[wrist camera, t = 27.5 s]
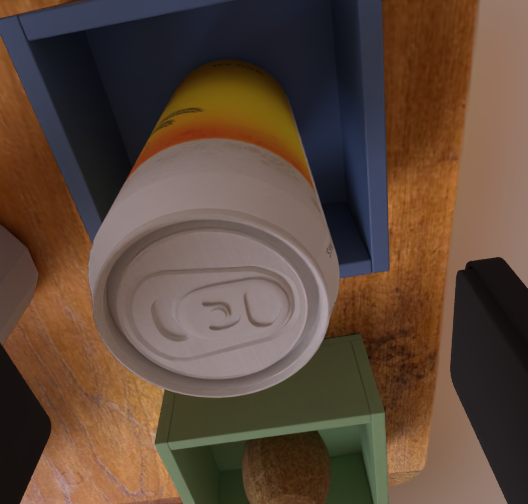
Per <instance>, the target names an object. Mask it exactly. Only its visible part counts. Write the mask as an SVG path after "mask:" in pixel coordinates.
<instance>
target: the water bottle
mask: <svg viewBox="0 0 528 504" xmlns="http://www.w3.org/2000/svg"><path fill="white" fill-rule="evenodd" d="M38 276H39V274H38V271H37V269H36V267H35V265H34V262H33V260H32V258H31V255H30V253H29V251H28V249H27V247H26V246H24V245H23V244H22V243H21V242H20V241H19V240H18V239H17V238H16V237H15V236H13V235H12V234H11V233H10V232H9V231H8V230H7V229H6V228H5V227H3V226H2V225H0V343H1V345H2V346H3V344H4V343H5V341H6V340H7V338H8V336H9V335H10V333H11V332H12V330H13V329H14V327H15V325H16V324H17V322H18V321H19V319H20V318H21V316H22V314H23V313H24V311H25V310H26V308H27V307H28V305H29V303H30V302H31V300H32V299H33V297H34V293H35V289H36V285H37V280H38Z"/></svg>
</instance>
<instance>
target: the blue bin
mask: <svg viewBox="0 0 528 504" xmlns="http://www.w3.org/2000/svg"><path fill="white" fill-rule="evenodd" d="M0 35H1V37H2V39H3V42H4V44H5V46H6V48H7V51H8V53H9V55H10V58H11V60H12V62H13V64H14V67H15V69H16V71H17V73H18V76H19V78H20V80H21V83H22V85H23V87H24V89H25V92H26V94H27V96H28V99H29V101H30V103H31V105H32V108H33V110H34V112H35V114H36V117H37V119H38V121H39V124H40V126H41V128H42V130H43V133H44V135H45V137H46V139H47V142H48V144H49V146H50V149H51V151H52V153H53V155H54V158H55V160H56V162H57V164H58V167H59V169H60V171H61V174H62V176H63V178H64V180H65V183H66V185H67V187H68V189H69V192H70V194H71V196H72V199H73V201H74V203H75V205H76V208H77V210H78V212H79V214H80V217H81V219H82V221H83V224H84V226H85V228H86V230H87V233H88V235H89V237H90V239H91V242H92V244H93V241H94V239H95V236H96V234H97V232H98V230H99V229H100V227H101V225H102V223H103V221H104V219H105V218H106V216H107V214H108V212H109V210H110V208H111V207H112V205H113V203H114V201H115V199H116V198H117V196H118V194H119V192H120V190H121V188H122V187H123V185H124V183H125V181H126V179H127V177H128V176H129V174H130V172H131V170H132V168H133V166H134V165H135V163H136V161H137V159H138V157H139V156H140V154H141V152H142V150H143V148H144V146H145V145H146V143H147V141H148V139H149V137H150V135H151V134H152V132H153V130H154V128H155V126H156V124H157V123H158V121H159V119H160V117H161V115H162V114H163V112H164V110H165V108H166V106H167V104H168V103H169V101H170V99H171V97H172V95H173V93H174V92H175V90H176V88H177V87H178V85H179V84H180V82H181V81H182V80H183V79H184V78H185V77H186V76H187V75H188V74H189V73H190V72H192V71H193V70H195V69H196V68H198V67H200V66H202V65H204V64H206V63H209V62H212V61H217V60H227V59H230V60H240V61H245V62H248V63H251V64H253V65H256V66H258V67H260V68H261V69H263V70H265V71H266V72H267V73H269V74H270V75H271V76H272V77H273V78H274V79H275V80H276V81H277V82H278V83H279V84H280V86H281V87H282V88H283V90H284V92H285V93H286V95H287V97H288V99H289V102H290V105H291V108H292V111H293V115H294V118H295V121H296V124H297V128H298V131H299V134H300V137H301V141H302V144H303V147H304V150H305V154H306V157H307V160H308V163H309V167H310V170H311V173H312V176H313V180H314V183H315V186H316V189H317V193H318V196H319V199H320V202H321V206H322V209H323V212H324V215H325V219H326V222H327V225H328V228H329V232H330V235H331V238H332V241H333V245H334V248H335V251H336V254H337V258H338V264H339V275H340V278H345V277H351V276H358V275H364V274H370V273H371V272H373V273H377V272H384V271H389V269H390V267H389V232H388V196H387V160H386V125H385V89H384V53H383V18H382V0H78V1H74V2H69V3H64V4H59V5H55V6H51V7H47V8H42V9H38V10H34V11H30V12H25V13H21V14H17V15H12V16H8V17H4V18H0Z"/></svg>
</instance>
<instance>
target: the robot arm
mask: <svg viewBox="0 0 528 504" xmlns="http://www.w3.org/2000/svg"><path fill="white" fill-rule="evenodd" d="M450 372H451V378H452V382H453V385H454V388H455V390H456V392H457V394H458V396H459V399H460V401H461V403H462V405H463V407H464V409H465V412H466V414H467V416H468V418H469V420H470V422H471V425H472V427H473V429H474V431H475V433H476V436H477V438H478V440H479V442H480V444H481V447H482V449H483V451H484V453H485V455H486V458H487V460H488V462H489V464H490V466H491V468H492V471H493V473H494V475H495V477H496V479H497V481H498V484H499V486H500V488H501V490H502V492H503V494H504V497H505V499H506V501H507V503H508V504H528V288H527V287H526V286H525V285H524V283H523V282H522V281H521V280H520V279H519V277H518V276H517V275H516V274H515V272H514V271H513V270H512V269H511V268H510V266H509V265H508V264H507V263H506V261H505V260H503V259H502V258H500V257H496V258H490V259H483V260H475V261H470V262H468V263H467V264H466V268H465V270H459V271H458V272H457V276H456V288H455V303H454V319H453V333H452V349H451V364H450ZM50 433H51V422H50V419H49V417H48V415H47V414H46V412H45V411H44V409H43V408H42V406H41V404H40V403H39V401H38V400H37V398H36V397H35V395H34V394H33V392H32V391H31V389H30V388H29V386H28V385H27V383H26V381H25V380H24V378H23V377H22V375H21V374H20V372H19V371H18V369H17V368H16V366H15V365H14V363H13V362H12V360H11V358H10V357H9V355H8V354H7V352H6V351H5V349H4V348H3V346H2V345H1V343H0V504H20V502H21V500H22V497H23V495H24V493H25V491H26V488H27V486H28V484H29V482H30V479H31V477H32V475H33V473H34V470H35V468H36V466H37V463H38V461H39V459H40V457H41V454H42V452H43V450H44V448H45V445H46V443H47V441H48V439H49V436H50Z"/></svg>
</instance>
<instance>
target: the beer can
mask: <svg viewBox="0 0 528 504" xmlns="http://www.w3.org/2000/svg"><path fill="white" fill-rule="evenodd" d="M88 277H89V285H90V289H91V293H92V297H93V299H92V307H93V316H94V320H95V324H96V327H97V330H98V332H99V334H100V337H101V338H102V340H103V342H104V344H105V345H106V347H107V348H108V349H109V351H110V352H111V353H112V355H113V356H114V357H115V358H116V359H117V360H118V361H119V362H120V363H121V364H122V365H123V366H125V367H126V368H127V369H128V370H129V371H131V372H132V373H134V374H135V375H137V376H138V377H140V378H142V379H144V380H145V381H147V382H149V383H151V384H153V385H156V386H158V387H160V388H163V389H166V390H169V391H172V392H176V393H180V394H184V395H190V396H196V397H209V398H221V397H234V396H240V395H246V394H250V393H254V392H258V391H261V390H264V389H267V388H269V387H271V386H274V385H276V384H278V383H280V382H282V381H284V380H285V379H287V378H289V377H290V376H292V375H293V374H295V373H296V372H297V371H298V370H300V369H301V368H302V367H303V366H304V365H305V364H306V363H307V362H308V361H309V360H310V359H311V358H312V357H313V355H314V354H315V353H316V351H317V350H318V348H319V346H320V345H321V343H322V341H323V339H324V337H325V334H326V332H327V328H328V324H329V319H330V315H331V313H332V310H333V308H334V305H335V303H336V299H337V295H338V291H339V282H340V275H339V264H338V258H337V254H336V251H335V248H334V245H333V241H332V238H331V235H330V232H329V228H328V225H327V222H326V219H325V215H324V212H323V209H322V206H321V202H320V199H319V196H318V193H317V189H316V186H315V183H314V180H313V176H312V173H311V170H310V167H309V163H308V160H307V157H306V154H305V150H304V147H303V144H302V141H301V137H300V134H299V131H298V128H297V124H296V121H295V118H294V115H293V111H292V108H291V105H290V102H289V99H288V97H287V95H286V93H285V92H284V90H283V88H282V87H281V86H280V84H279V83H278V82H277V81H276V80H275V79H274V78H273V77H272V76H271V75H270V74H269V73H267V72H266V71H265V70H263V69H261V68H260V67H258V66H256V65H253V64H251V63H248V62H245V61H240V60H230V59H227V60H217V61H212V62H209V63H206V64H204V65H202V66H200V67H198V68H196V69H195V70H193V71H192V72H190V73H189V74H188V75H187V76H186V77H185V78H184V79H183V80H182V81H181V82H180V84H179V85H178V87H177V88H176V90H175V92H174V93H173V95H172V97H171V99H170V101H169V103H168V104H167V106H166V108H165V110H164V112H163V114H162V115H161V117H160V119H159V121H158V123H157V124H156V126H155V128H154V130H153V132H152V134H151V135H150V137H149V139H148V141H147V143H146V145H145V146H144V148H143V150H142V152H141V154H140V156H139V157H138V159H137V161H136V163H135V165H134V166H133V168H132V170H131V172H130V174H129V176H128V177H127V179H126V181H125V183H124V185H123V187H122V188H121V190H120V192H119V194H118V196H117V198H116V199H115V201H114V203H113V205H112V207H111V208H110V210H109V212H108V214H107V216H106V218H105V219H104V221H103V223H102V225H101V227H100V229H99V230H98V232H97V234H96V236H95V239H94V241H93V244H92V247H91V251H90V256H89V263H88Z"/></svg>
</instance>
